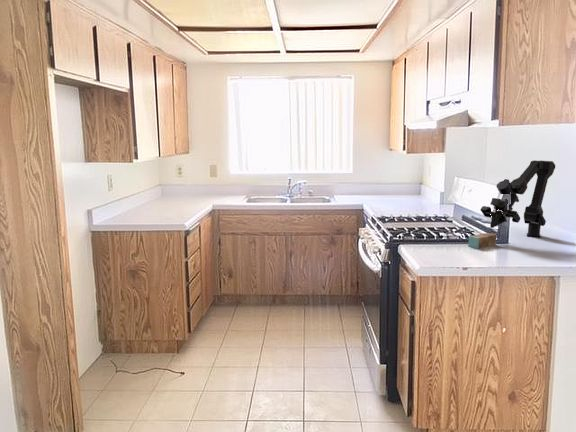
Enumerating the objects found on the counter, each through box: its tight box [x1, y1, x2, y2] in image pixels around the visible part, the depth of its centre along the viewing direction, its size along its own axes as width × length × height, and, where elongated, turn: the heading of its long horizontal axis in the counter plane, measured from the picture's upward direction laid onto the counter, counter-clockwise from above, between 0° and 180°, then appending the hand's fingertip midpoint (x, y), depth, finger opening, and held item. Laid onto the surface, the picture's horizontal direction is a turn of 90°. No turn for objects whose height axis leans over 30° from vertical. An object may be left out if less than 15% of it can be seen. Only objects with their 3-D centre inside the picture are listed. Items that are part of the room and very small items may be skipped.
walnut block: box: [467, 232, 498, 250], centre depth 238 cm, size 5×5×14 cm
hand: (491, 227), depth 240 cm, fingers closed
